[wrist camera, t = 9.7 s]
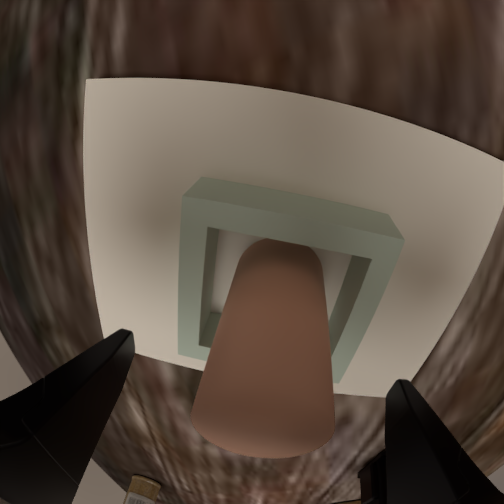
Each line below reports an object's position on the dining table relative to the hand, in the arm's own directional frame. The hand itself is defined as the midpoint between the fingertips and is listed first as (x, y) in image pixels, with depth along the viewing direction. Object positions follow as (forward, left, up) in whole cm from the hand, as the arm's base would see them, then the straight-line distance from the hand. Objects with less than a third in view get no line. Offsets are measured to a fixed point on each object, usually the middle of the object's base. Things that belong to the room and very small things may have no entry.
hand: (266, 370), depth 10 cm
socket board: (0, 0, -7) cm, 7 cm away
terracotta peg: (0, 0, -6) cm, 6 cm away
